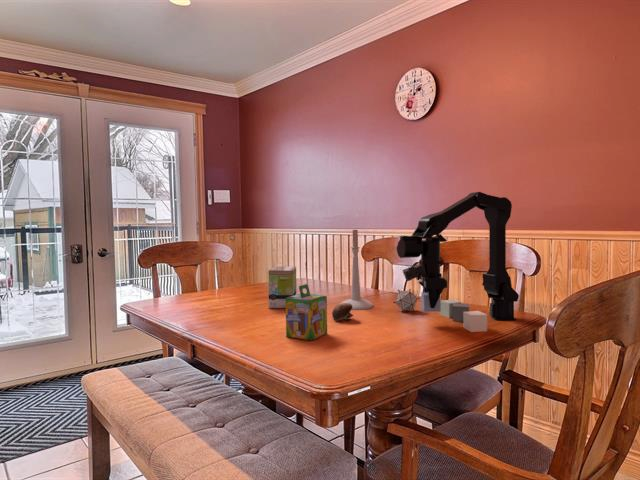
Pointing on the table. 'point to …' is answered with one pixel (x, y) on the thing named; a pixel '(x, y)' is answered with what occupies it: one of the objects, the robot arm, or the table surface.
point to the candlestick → (356, 280)
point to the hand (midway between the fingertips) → (430, 306)
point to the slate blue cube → (426, 304)
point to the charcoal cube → (459, 311)
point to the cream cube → (475, 321)
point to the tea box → (281, 285)
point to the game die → (406, 300)
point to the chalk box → (306, 315)
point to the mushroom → (342, 311)
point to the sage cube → (447, 308)
